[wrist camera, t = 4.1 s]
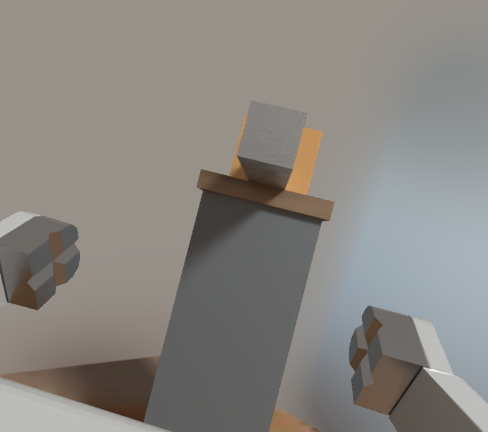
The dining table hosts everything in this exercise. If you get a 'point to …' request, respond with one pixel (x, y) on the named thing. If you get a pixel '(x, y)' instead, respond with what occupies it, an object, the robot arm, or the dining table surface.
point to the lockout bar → (276, 148)
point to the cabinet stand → (235, 307)
